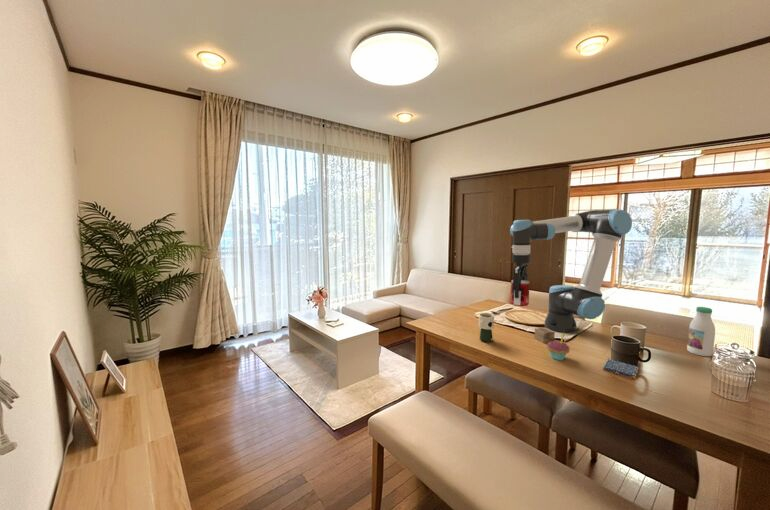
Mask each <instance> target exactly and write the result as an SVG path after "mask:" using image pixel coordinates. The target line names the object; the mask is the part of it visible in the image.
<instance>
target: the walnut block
mask: <svg viewBox="0 0 770 510" xmlns="http://www.w3.org/2000/svg"><path fill="white" fill-rule="evenodd" d="M534 339H535V340H537V341H539V342H541V343H543V344H548V343H549V342H551V341H555V331H554V330H551V329H548V328H547V327H540V328H534Z"/></svg>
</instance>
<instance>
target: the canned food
mask: <svg viewBox="0 0 770 510" xmlns="http://www.w3.org/2000/svg"><path fill="white" fill-rule="evenodd" d="M512 288H513V279H511V284H510V302H511V304H512V305H513V306H516V307H526V306H528V305H529V303H530V281H529V279H527V280H521V287H520V291H521V303H520V305H514V291H513V290H512Z"/></svg>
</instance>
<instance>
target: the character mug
mask: <svg viewBox="0 0 770 510" xmlns="http://www.w3.org/2000/svg"><path fill="white" fill-rule="evenodd" d="M494 321H495V315H494V314H492V313H490V312H480V313H479V314H478V328H479V329H480V333H479V340H481V341H483V342H492V341H494V339H493V332H492V331H493V330H492V329H494V327H495V326H494Z"/></svg>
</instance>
